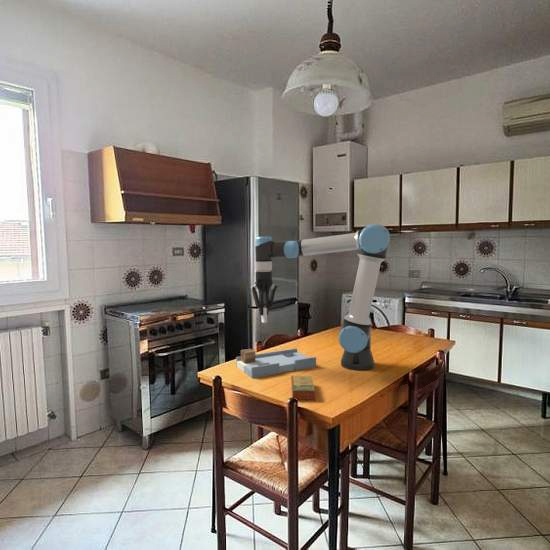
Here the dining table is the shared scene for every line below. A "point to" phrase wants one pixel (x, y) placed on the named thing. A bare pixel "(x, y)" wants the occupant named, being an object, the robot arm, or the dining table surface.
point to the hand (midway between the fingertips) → (264, 322)
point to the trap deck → (276, 363)
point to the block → (248, 356)
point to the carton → (303, 388)
